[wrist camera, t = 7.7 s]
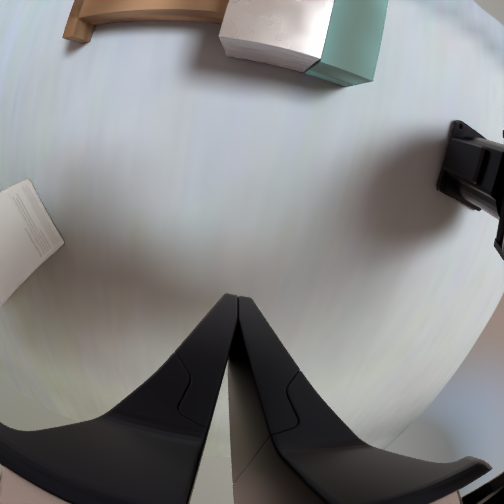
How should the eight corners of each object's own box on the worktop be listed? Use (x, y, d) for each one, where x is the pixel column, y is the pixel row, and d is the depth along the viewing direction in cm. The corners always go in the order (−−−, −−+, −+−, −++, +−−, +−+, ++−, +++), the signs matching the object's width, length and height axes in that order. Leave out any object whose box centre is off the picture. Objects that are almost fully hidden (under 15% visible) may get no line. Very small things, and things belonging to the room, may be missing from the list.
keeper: (321, -8, 12) (342, -37, 8) (302, 72, 15) (320, 58, 11) (250, -24, 11) (250, -59, 7) (226, 56, 15) (218, 36, 10)
